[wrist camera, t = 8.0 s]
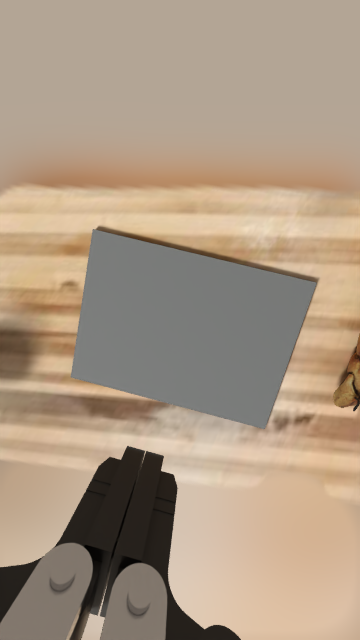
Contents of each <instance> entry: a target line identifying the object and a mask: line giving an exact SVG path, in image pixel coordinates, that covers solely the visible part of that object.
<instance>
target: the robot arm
mask: <svg viewBox="0 0 360 640" xmlns="http://www.w3.org/2000/svg"><path fill="white" fill-rule="evenodd" d="M144 453H145V451H144V450H140V449H136V448H133V447H129V446H127V448H126V450H125V452H124V454H123V457H122V459H121V460H119V459H115V458H112V457H109V458H108V459H107V460H106V461H104V462H103V463H102V464H101V465H100V466H99V467H98V469H97V471H96V473H95V475H94V477H93V479H92V481H91V482H90V484H89V486H88V488H87V490H86V492H85V493H84V495H83V497H82V499H81V501H80V503H79V505H78V507H77V509H76V510H75V512H74V514H73V516H72V518H71V520H70V522H69V524H68V526H67V528H66V530H65V531H64V533H63V535H62V537H61V539H60V540H59V542H58V543H57V544H56V546H55V547H54V548H53V549H52V550H50V551H49V552H48V553H47V554H46V555H45V556H43V557H42V558H40V559H38V560H36V561H34V562H32V563H28V564H24V565H17V566H8V567H0V640H81V638H82V635H83V632H84V629H85V626H86V623H87V620H88V617H89V614H90V613H91V614H94V615H98V612H99V609H100V606H101V603H102V599H103V596H104V593H105V589H106V593H105V596H104V601H103V605H102V610H101V614H100V616H102V617H105V620H104V624H103V629H102V633H101V637H100V640H241V639H240V638H239V637H238V636H237V635H236V634H235V633H234V632H233V631H231V630H230V629H229V628H227V627H225V626H221V625H213V626H210V627H208V628H207V629H203V628H202V627H201V626H200V625H199V624H197V623H196V622H195V621H194V620H193V619H191V618H190V617H189V616H188V615H186V614H185V613H184V612H183V611H182V610H181V608H180V607H179V606H178V604H177V603H176V601H175V599H174V597H173V595H172V593H171V590H170V586H169V582H168V565H169V557H170V548H171V539H172V531H173V522H174V514H175V504H176V497H177V496H176V495H177V484H176V481H175V478H174V475H173V474H170V473H166V472H162V471H161V467H162V463H163V458H164V456H162V455H159V454H155V453H151V452H148V451H146V454H145V457H144ZM143 458H144V460H143ZM142 462H143V463H142ZM141 466H142V467H141ZM106 586H107V588H106Z"/></svg>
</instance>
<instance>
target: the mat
mask: <svg viewBox="0 0 360 640" xmlns="http://www.w3.org/2000/svg"><path fill="white" fill-rule="evenodd" d="M316 284H317V283H316V282H312V281H307V280H303V279H299V278H295V277H291V276H286V275H282V274H278V273H274V272H270V271H266V270H261V269H257V268H253V267H249V266H245V265H241V264H236V263H232V262H228V261H224V260H220V259H215V258H211V257H207V256H203V255H199V254H195V253H190V252H186V251H182V250H178V249H174V248H170V247H165V246H161V245H157V244H153V243H149V242H145V241H140V240H136V239H132V238H128V237H124V236H119V235H115V234H111V233H107V232H103V231H99V230H94V229H93V232H92V238H91V245H90V252H89V258H88V265H87V272H86V279H85V285H84V292H83V299H82V306H81V312H80V319H79V326H78V332H77V339H76V346H75V353H74V359H73V366H72V373H71V377H72V378H75V379H79V380H83V381H87V382H90V383H94V384H98V385H102V386H105V387H109V388H113V389H116V390H120V391H124V392H128V393H131V394H135V395H139V396H143V397H146V398H150V399H154V400H158V401H161V402H165V403H169V404H173V405H176V406H180V407H184V408H188V409H191V410H195V411H199V412H202V413H206V414H210V415H214V416H217V417H221V418H225V419H229V420H232V421H236V422H240V423H244V424H247V425H251V426H255V427H259V428H262V429H265V427H266V424H267V421H268V418H269V416H270V413H271V410H272V407H273V404H274V402H275V399H276V396H277V393H278V390H279V388H280V385H281V382H282V379H283V376H284V373H285V371H286V368H287V365H288V362H289V359H290V357H291V354H292V351H293V348H294V345H295V343H296V340H297V337H298V334H299V331H300V329H301V326H302V323H303V320H304V317H305V315H306V312H307V309H308V306H309V303H310V301H311V298H312V295H313V292H314V289H315V287H316Z"/></svg>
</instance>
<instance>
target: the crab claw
mask: <svg viewBox="0 0 360 640" xmlns="http://www.w3.org/2000/svg"><path fill="white" fill-rule="evenodd" d="M356 351H357V352H356V353H355V354H354V355H353V356H352V357H351V359H350V362H349V365H348V369H347V373H348V376H347V378H346V379H345V381H344V382H343V384H342V385H341V386H339V388H338V389H337V390H336V391H335V393H334V395H333V399H334V403H335V405H336V406H338V407H341V408H344V407H348V406H353V405H356V404H357V405H356V406H355V407H354V409H353V411H355V410H356V409H357V407H358V406H359V404H360V335H359V338H358V344H357V349H356Z"/></svg>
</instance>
